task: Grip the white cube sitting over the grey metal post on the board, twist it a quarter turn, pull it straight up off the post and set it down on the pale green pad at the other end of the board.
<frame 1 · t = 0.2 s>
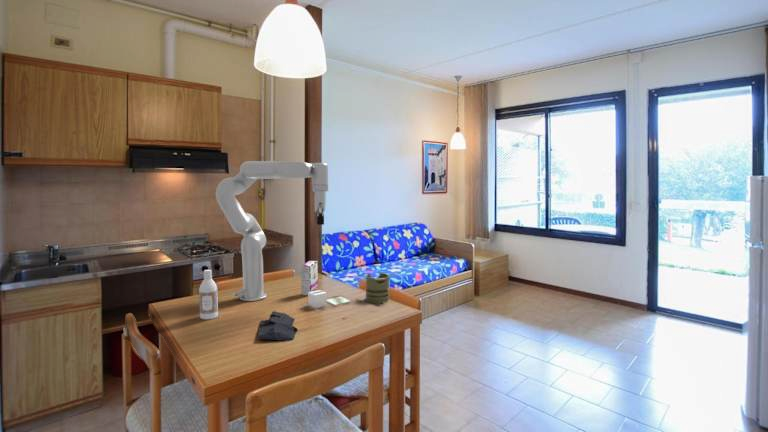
hand: (320, 223, 190), 37 cm above the table, tool pointing down, fingers open, 9 cm apart
candy bar box: (310, 295, 196), on the table
bath foam: (209, 317, 163), on the table
post board: (328, 306, 179), on the table
dark slate chunk: (277, 331, 150), on the table
white cube: (317, 305, 175), point 1 cm above the table, touching post board
piston: (377, 300, 190), on the table
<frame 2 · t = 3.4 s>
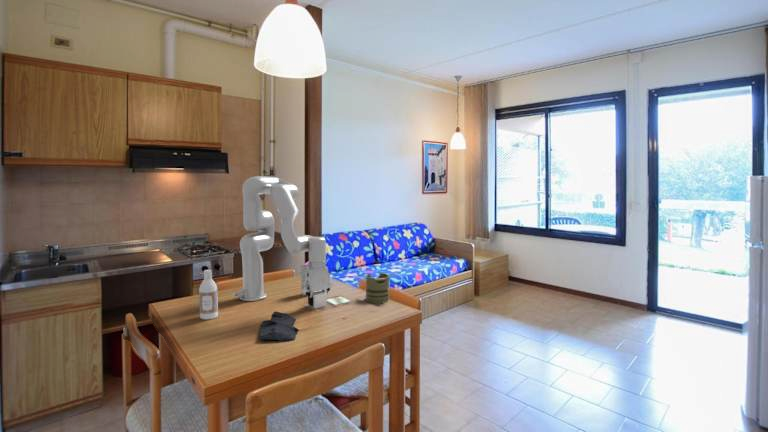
hand: (317, 303, 175), 2 cm above the table, tool pointing down, fingers closed on white cube, 6 cm apart
white cube: (317, 305, 175), point 2 cm above the table, touching gripper, post board
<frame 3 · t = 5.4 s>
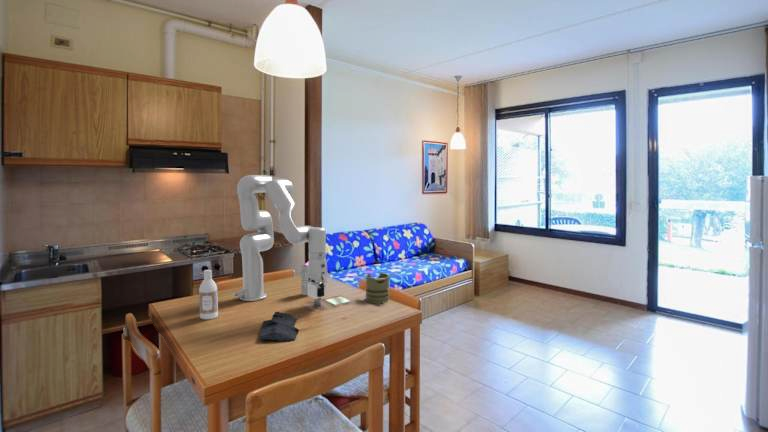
hand: (316, 294, 175), 7 cm above the table, tool pointing down, fingers closed on white cube, 6 cm apart
white cube: (316, 296, 175), point 6 cm above the table, touching gripper
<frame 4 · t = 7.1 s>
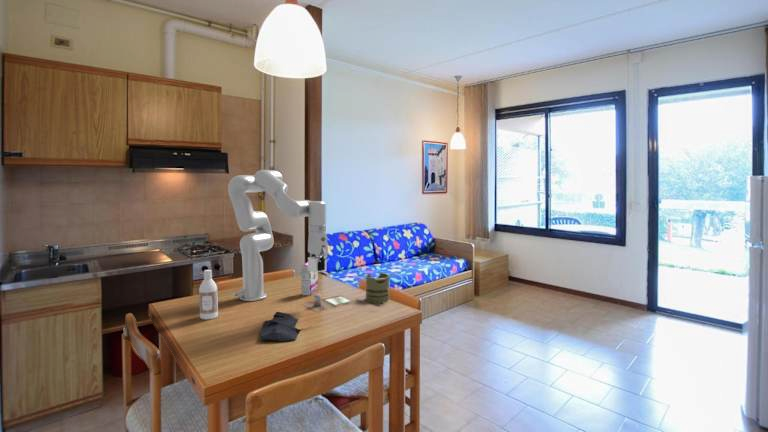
hand: (317, 268, 174), 18 cm above the table, tool pointing down, fingers closed on white cube, 6 cm apart
white cube: (317, 270, 174), point 18 cm above the table, touching gripper
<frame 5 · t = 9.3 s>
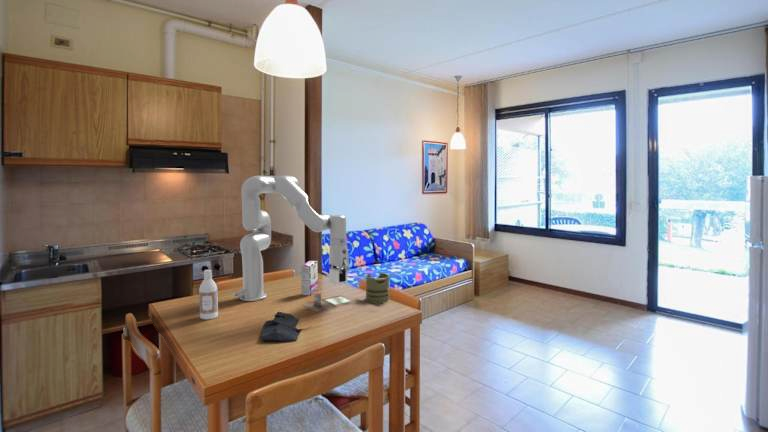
hand: (338, 279, 181), 12 cm above the table, tool pointing down, fingers closed on white cube, 6 cm apart
white cube: (338, 281, 181), point 11 cm above the table, touching gripper
when the fingers open (4 cm above the table, at t = 11.1 s): white cube drops 1 cm, resting on post board.
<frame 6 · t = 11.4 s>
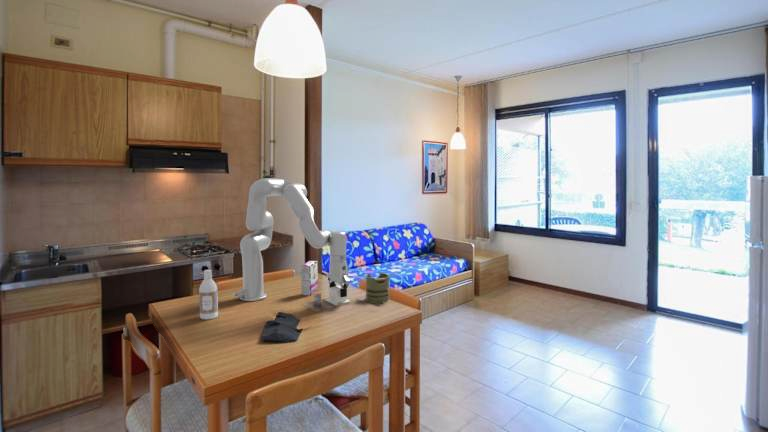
hand: (338, 294, 182), 5 cm above the table, tool pointing down, fingers open, 8 cm apart
white cube: (337, 300, 182), point 2 cm above the table, touching post board
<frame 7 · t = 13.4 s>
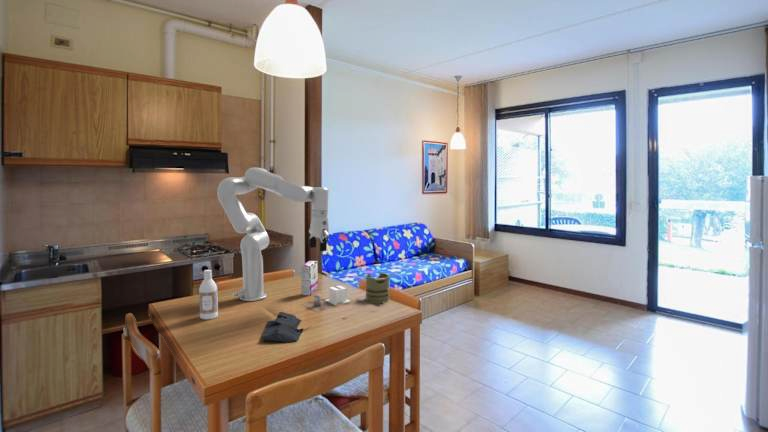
hand: (317, 249, 185), 25 cm above the table, tool pointing down, fingers open, 9 cm apart
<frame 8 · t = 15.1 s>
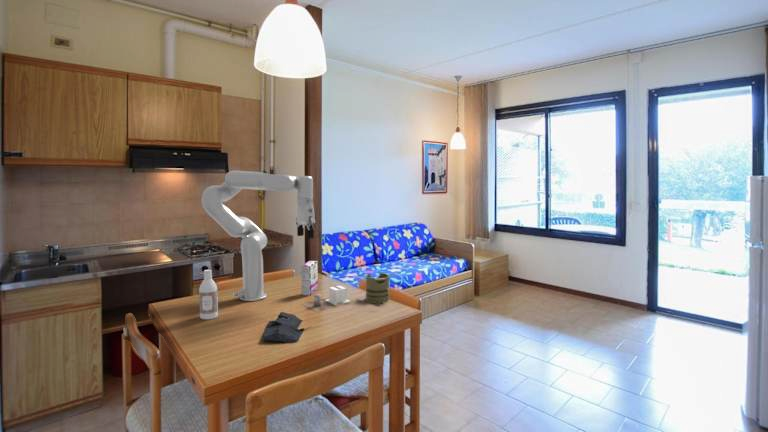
hand: (305, 236, 189), 30 cm above the table, tool pointing down, fingers open, 9 cm apart
at the end: white cube inside the target area on the post board (0.1 cm from its centre), point 1.7 cm above the post board's base; white cube tilted 0°; the gripper is holding nothing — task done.
